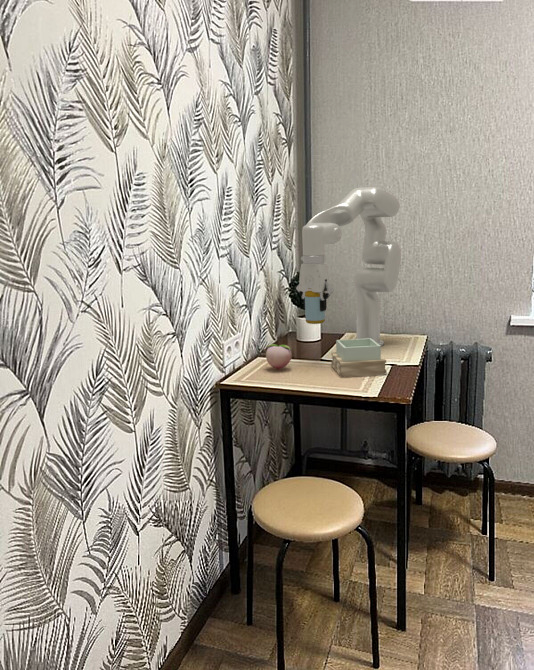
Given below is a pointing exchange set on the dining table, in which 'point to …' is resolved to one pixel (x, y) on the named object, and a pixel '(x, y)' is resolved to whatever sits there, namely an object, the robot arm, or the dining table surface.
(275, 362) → the decorative fruit
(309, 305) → the bottle
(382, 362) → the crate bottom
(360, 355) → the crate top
